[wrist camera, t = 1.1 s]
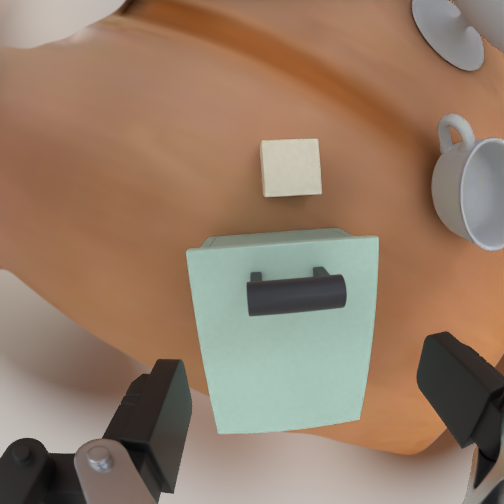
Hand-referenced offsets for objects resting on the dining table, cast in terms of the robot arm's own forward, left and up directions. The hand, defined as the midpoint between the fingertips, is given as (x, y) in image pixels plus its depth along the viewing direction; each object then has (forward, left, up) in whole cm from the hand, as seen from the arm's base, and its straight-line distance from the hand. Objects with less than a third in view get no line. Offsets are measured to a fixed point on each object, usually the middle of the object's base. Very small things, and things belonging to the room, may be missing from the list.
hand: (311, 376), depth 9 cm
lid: (+3, +6, -11) cm, 13 cm away
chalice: (-35, -10, -20) cm, 42 cm away
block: (-5, -5, -20) cm, 21 cm away
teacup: (-21, +5, -20) cm, 30 cm away
